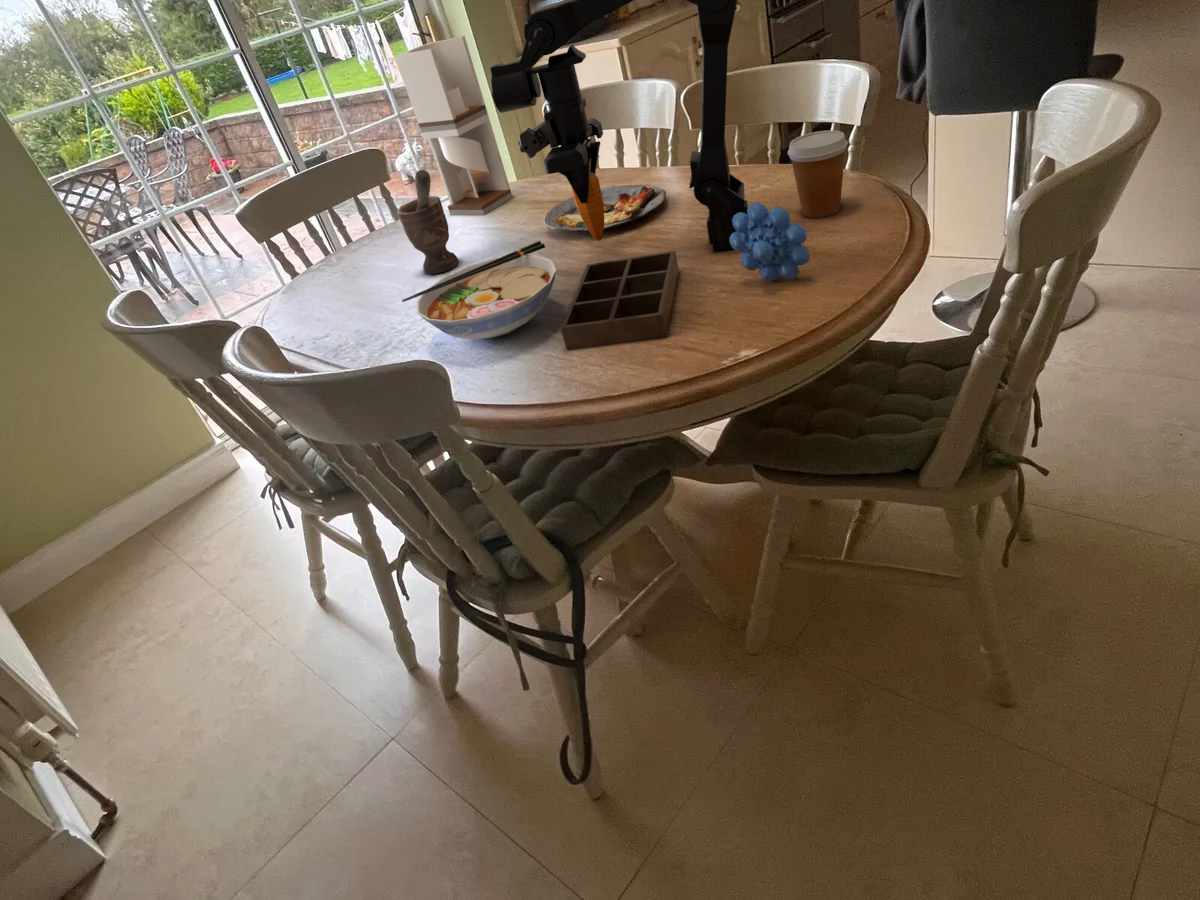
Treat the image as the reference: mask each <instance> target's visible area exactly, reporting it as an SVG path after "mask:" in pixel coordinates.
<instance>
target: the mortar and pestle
mask: <svg viewBox="0 0 1200 900" xmlns="http://www.w3.org/2000/svg"><path fill="white" fill-rule="evenodd" d="M431 181H432V180H431V176H430V173H429V172H428V171H427V170H425V169H419V170H418V171H416V172H415V176H414V185H415V192H416V196H417V198H415V199H412V200H411V201H408V202H406V203H404V204H403V205H401V206H400V207H399V208H398V209H397V210H396V214H397V217H398V219H399V222H400V223H401V226H402V229H403V231H404V233H405V235H406V237H407V239H408V241H409V242H410V243H411V244H412V246H413V248H414V249H416V250H417V251H419V252H421V253H422V254H423V255H424V256H425V257H424V261H423V263H422V271H423V272H422V273H424V274H425V275H429V276H431V275H435V274H436V275H437V274H441V273H445V272H449V271H450V270H452V269H454V268H456V267H457V266H458V264H459V258H458V257H457V255H456V254H455V253H454V252H452V251H449V250H448V249H447V244H448V241H449V239H450V233H449V224H448V220H447V217H446V214H445V211H444V207H443V204H442V201H441V198H440V197H439V196H437V195H431V196H430V192H431Z"/></svg>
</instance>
